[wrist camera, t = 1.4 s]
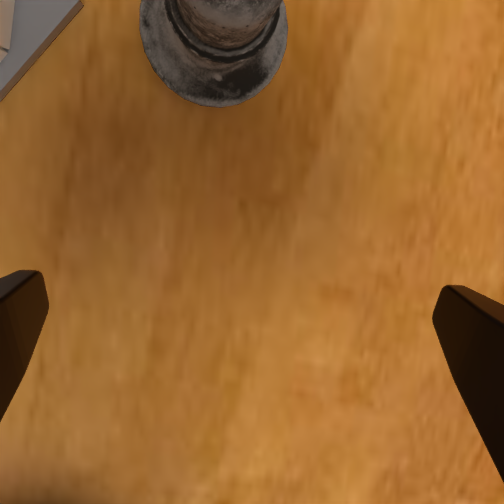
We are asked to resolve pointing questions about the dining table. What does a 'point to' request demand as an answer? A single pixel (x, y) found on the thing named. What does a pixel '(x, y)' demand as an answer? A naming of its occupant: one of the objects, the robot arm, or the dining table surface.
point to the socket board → (29, 34)
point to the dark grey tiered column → (214, 46)
